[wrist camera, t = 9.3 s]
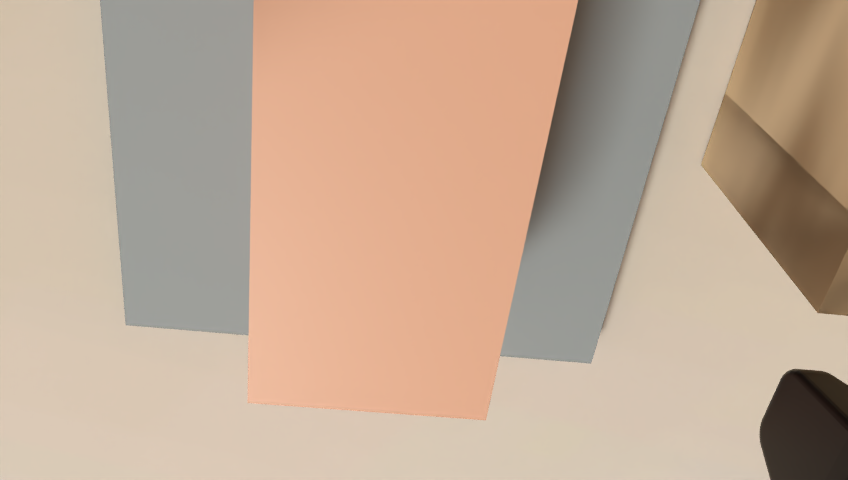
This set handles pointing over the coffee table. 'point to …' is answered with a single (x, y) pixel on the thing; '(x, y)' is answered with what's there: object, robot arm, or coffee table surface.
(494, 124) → the salmon orange block
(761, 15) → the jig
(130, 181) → the mat
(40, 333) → the coffee table surface
